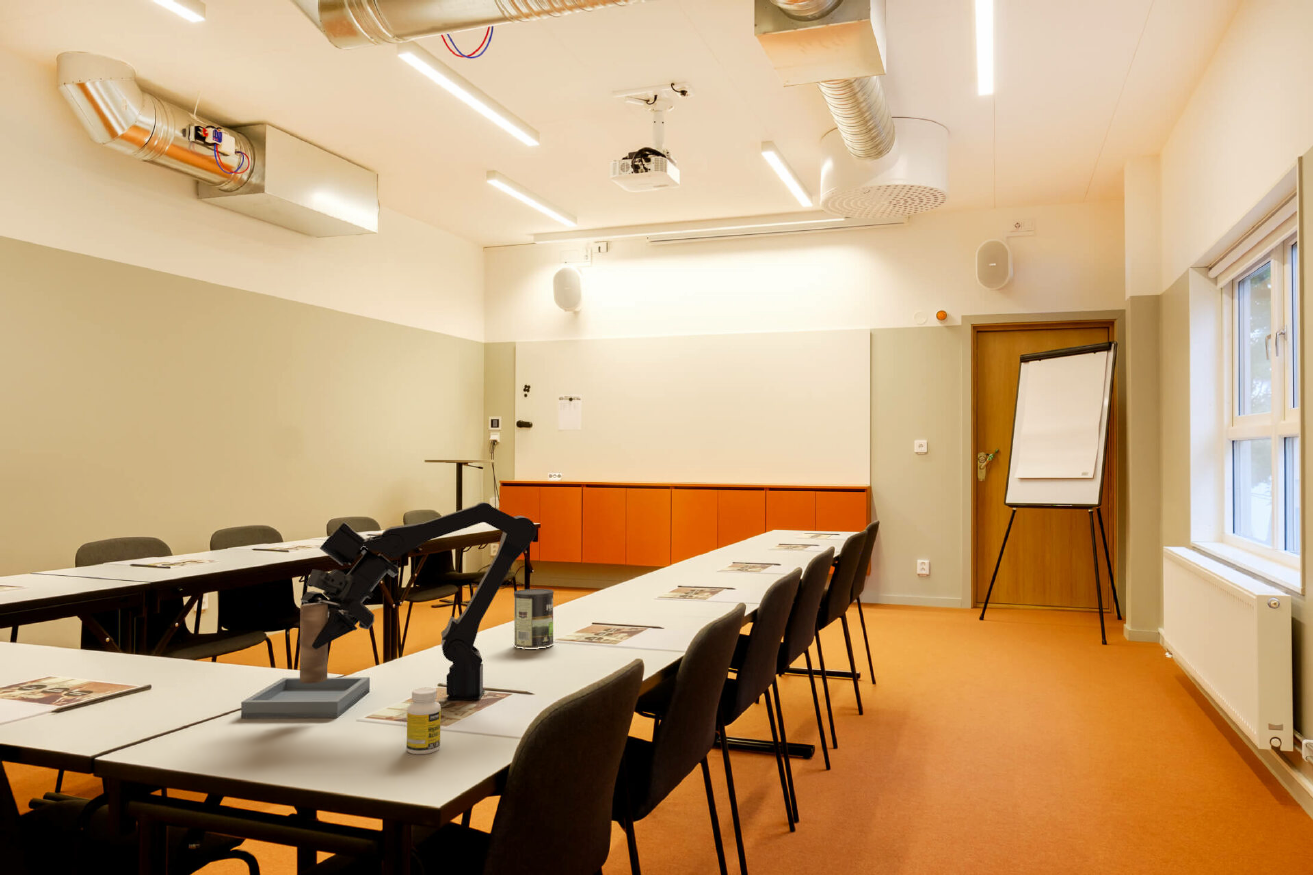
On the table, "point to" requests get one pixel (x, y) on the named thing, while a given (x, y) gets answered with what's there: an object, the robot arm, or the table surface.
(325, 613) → the canister
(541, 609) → the coffee can
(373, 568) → the robot arm
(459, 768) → the table surface
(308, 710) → the bin
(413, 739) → the supplement bottle
